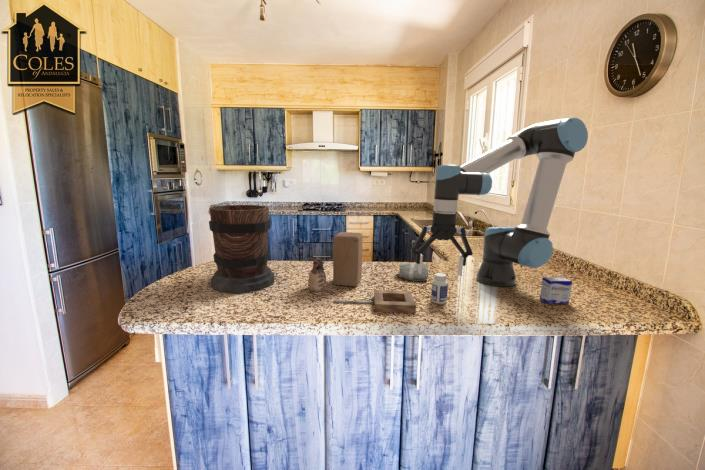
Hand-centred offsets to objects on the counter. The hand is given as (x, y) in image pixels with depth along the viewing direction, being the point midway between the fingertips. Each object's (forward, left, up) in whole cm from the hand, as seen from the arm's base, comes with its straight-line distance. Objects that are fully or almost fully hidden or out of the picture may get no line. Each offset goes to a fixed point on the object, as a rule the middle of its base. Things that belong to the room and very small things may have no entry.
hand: (439, 274), depth 112 cm
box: (-41, -3, -10) cm, 43 cm away
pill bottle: (0, 0, -10) cm, 10 cm away
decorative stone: (+5, -27, -10) cm, 29 cm away
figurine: (+44, -9, -10) cm, 46 cm away
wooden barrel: (+75, -16, -10) cm, 77 cm away
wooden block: (+33, -17, -10) cm, 38 cm away
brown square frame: (+23, +4, -10) cm, 25 cm away
